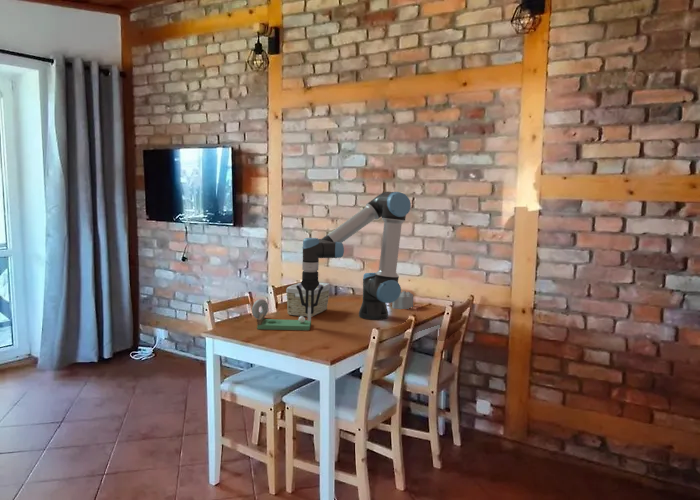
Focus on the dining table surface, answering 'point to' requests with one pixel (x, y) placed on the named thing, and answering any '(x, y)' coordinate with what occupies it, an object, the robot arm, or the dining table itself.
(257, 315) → the donut
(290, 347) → the dining table surface
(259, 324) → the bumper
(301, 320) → the ball
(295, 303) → the storage basket
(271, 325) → the mat
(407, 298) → the lumpy-topped squat cylinder
